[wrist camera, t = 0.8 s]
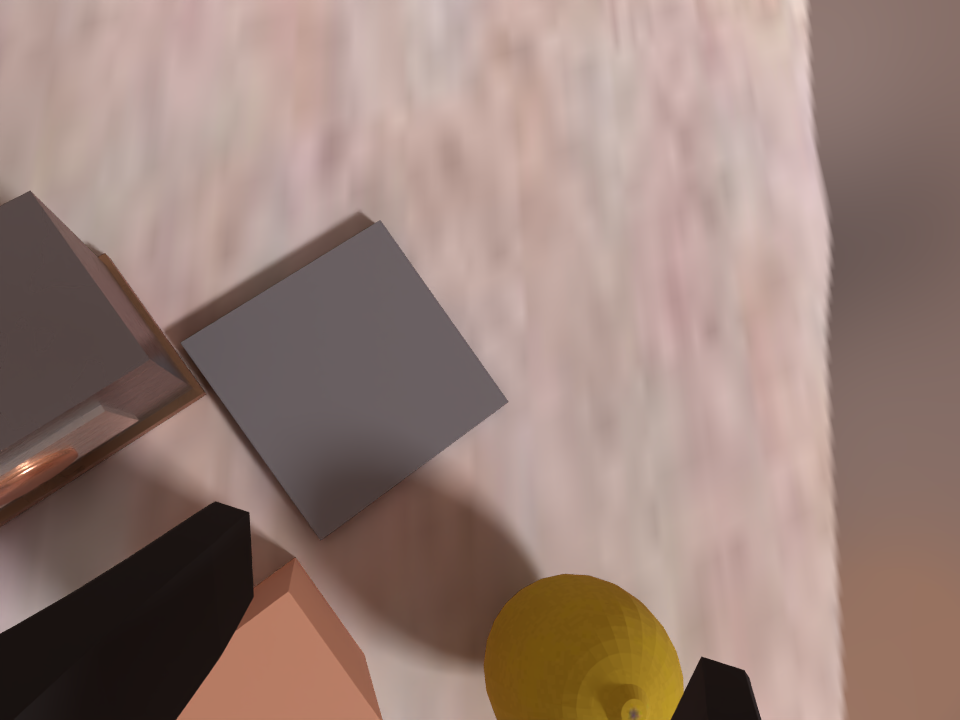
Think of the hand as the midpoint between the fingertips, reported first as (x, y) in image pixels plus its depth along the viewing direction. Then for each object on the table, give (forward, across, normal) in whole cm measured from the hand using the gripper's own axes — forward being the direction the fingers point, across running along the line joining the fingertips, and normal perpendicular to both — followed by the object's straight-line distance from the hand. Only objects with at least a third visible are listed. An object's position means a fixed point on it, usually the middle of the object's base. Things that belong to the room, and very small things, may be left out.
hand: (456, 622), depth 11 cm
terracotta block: (+6, +7, +12) cm, 15 cm away
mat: (+12, +7, +5) cm, 15 cm away
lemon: (+10, -2, +12) cm, 16 cm away
